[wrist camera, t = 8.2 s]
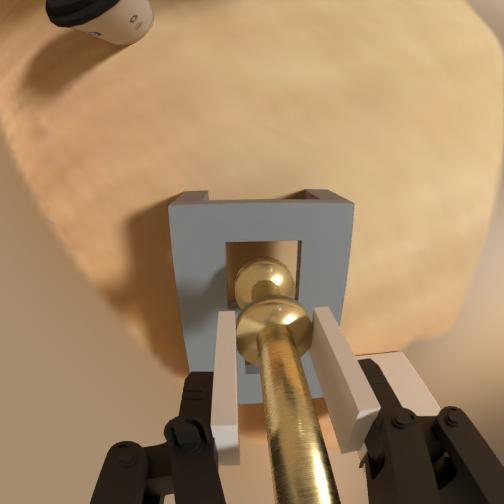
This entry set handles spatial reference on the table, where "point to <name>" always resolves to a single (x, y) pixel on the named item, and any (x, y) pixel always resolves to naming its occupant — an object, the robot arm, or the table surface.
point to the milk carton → (403, 386)
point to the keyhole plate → (247, 230)
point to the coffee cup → (104, 18)
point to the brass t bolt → (283, 381)
